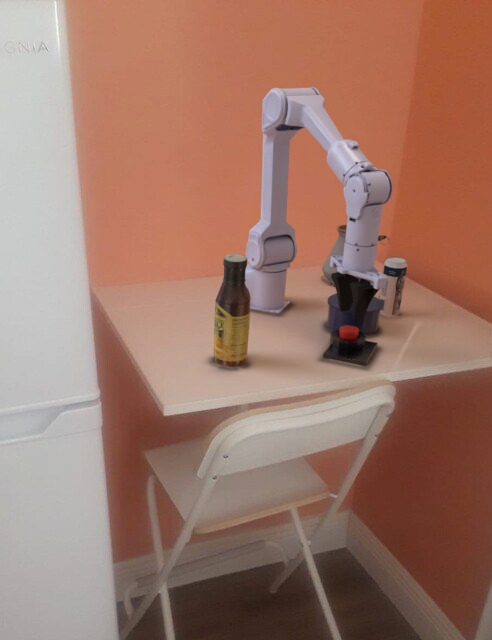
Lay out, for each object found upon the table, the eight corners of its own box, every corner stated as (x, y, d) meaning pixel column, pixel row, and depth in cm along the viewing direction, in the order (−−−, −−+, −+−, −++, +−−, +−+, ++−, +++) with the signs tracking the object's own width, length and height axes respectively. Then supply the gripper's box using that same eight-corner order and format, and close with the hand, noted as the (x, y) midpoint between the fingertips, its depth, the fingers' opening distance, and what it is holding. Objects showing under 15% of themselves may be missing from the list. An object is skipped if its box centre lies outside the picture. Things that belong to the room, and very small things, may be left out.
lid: (320, 310, 140) (322, 289, 138) (335, 294, 149) (337, 273, 147) (375, 320, 136) (379, 298, 134) (387, 302, 145) (391, 281, 143)
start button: (355, 342, 133) (356, 333, 132) (336, 338, 134) (337, 330, 133) (359, 335, 135) (361, 327, 135) (341, 332, 137) (342, 323, 136)
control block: (364, 368, 129) (367, 353, 127) (320, 359, 131) (321, 345, 130) (377, 348, 137) (379, 334, 135) (334, 340, 140) (336, 326, 138)
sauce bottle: (211, 355, 132) (214, 250, 122) (244, 355, 132) (250, 250, 122) (214, 370, 126) (218, 262, 116) (249, 370, 127) (255, 262, 117)
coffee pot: (312, 275, 175) (319, 214, 167) (353, 272, 178) (361, 211, 170) (354, 304, 158) (363, 238, 150) (398, 300, 161) (409, 234, 153)
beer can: (399, 319, 151) (408, 264, 145) (376, 316, 151) (385, 262, 145) (398, 311, 155) (407, 257, 149) (376, 309, 155) (384, 255, 149)
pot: (320, 332, 143) (323, 307, 140) (334, 316, 151) (337, 292, 148) (370, 341, 139) (374, 316, 137) (381, 324, 148) (385, 300, 145)
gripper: (319, 234, 129) (312, 304, 136) (367, 255, 118) (357, 331, 125) (351, 230, 132) (342, 299, 139) (400, 251, 121) (388, 325, 128)
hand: (351, 314), depth 132 cm, fingers open, 4 cm apart
